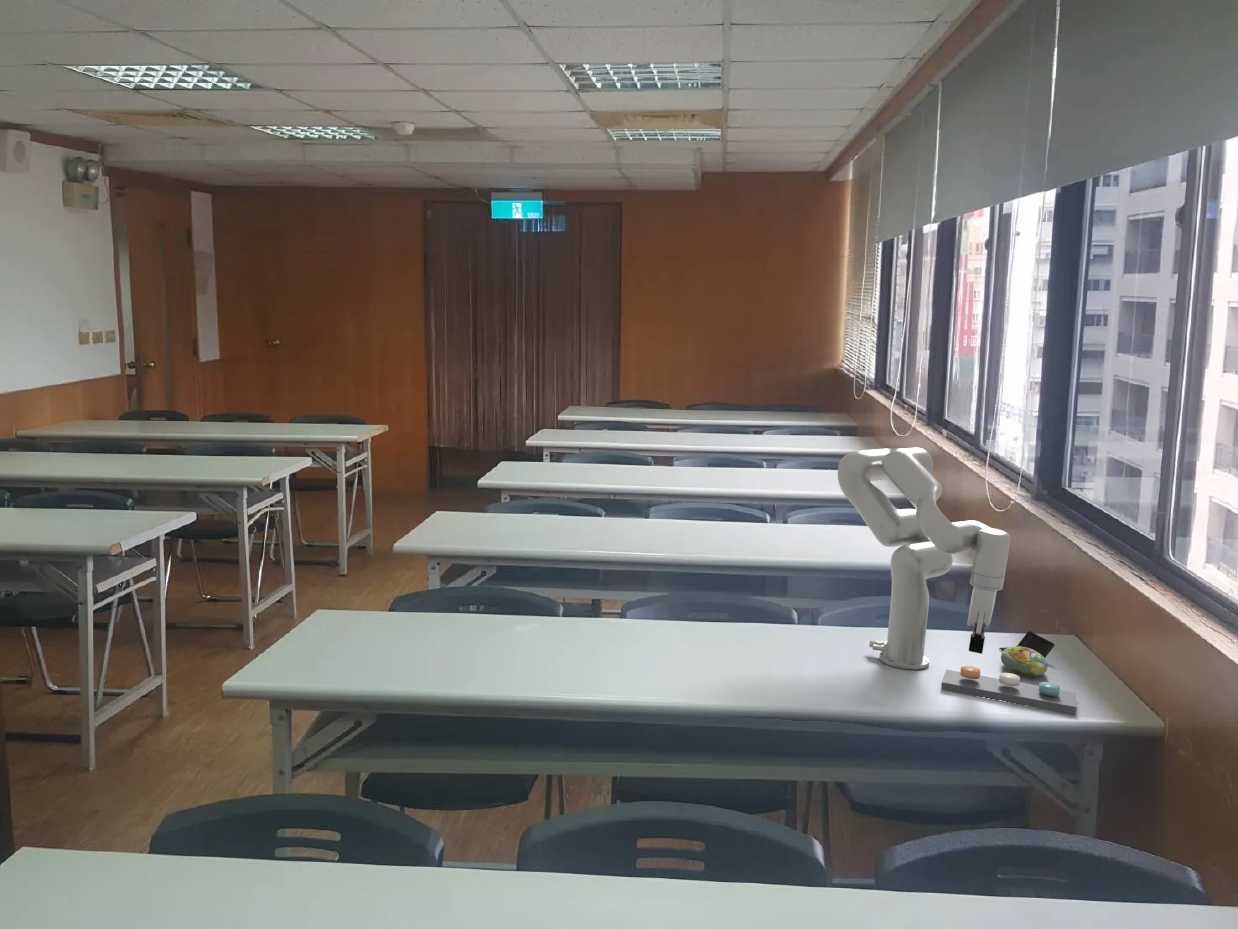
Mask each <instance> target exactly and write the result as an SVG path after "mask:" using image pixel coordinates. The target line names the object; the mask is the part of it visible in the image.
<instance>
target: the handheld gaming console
mask: <svg viewBox="0 0 1238 929" xmlns="http://www.w3.org/2000/svg"><path fill="white" fill-rule="evenodd" d="M1009 647H1010V646H1009ZM1009 647H1008V646H1007V647H999V649H1001V650H1002V651H1003V650H1005V649H1006V648H1009ZM1015 647H1026V648H1030V649H1032V650H1035V651H1036V652H1038V653H1040V654H1041V655H1042V656H1043V657H1044V658H1045V659H1046V658H1047V656H1048V654H1050V652H1051V651H1052V650H1053V648H1054V647H1055V643H1053V642H1052V641H1049V640H1048V639H1046V638H1044V637H1042V636H1040V635H1038V634H1036V633H1034V632H1032V631H1030V630H1029V631H1027V632H1026V634H1024V635H1023V637H1022V639H1021V640H1020V641H1019V643H1018V644H1017V645H1015ZM999 649H998V650H999ZM1002 651H1001V652H1002Z"/></svg>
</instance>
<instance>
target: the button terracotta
mask: <svg viewBox="0 0 1238 929" xmlns="http://www.w3.org/2000/svg"><path fill="white" fill-rule="evenodd" d="M959 672H960V675H961V676H962V677H965V678H968V679H979V678H980V676H981V669H980V668H978V667H975V666H970V665H963V666H961V667H960V671H959Z"/></svg>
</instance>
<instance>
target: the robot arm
mask: <svg viewBox="0 0 1238 929" xmlns="http://www.w3.org/2000/svg"><path fill="white" fill-rule="evenodd" d="M933 471H934V460H933V458H932V456H931V454H930V453H929V452H928V451H927V450H925V449H924V448H921V447H907V448H904V447H903V448H874V449H861V450H860V449H859V450H855V451H851V452H849V453H847V454H845V455H844V456H842V458H841V459H840V461H839V464H838V467H837V480H838V485H839V487H840V490H841V491H842V493H843V495H844V496H845V497H846V500H848V501H849V503H850V504H851V505H852V506H853V507H854V509H855V510H856V511H857V513H858V514H859V516H860V517H861V518H862V520H863V521H864V523H865V525H866V526H867V527H868V528H869V530H870V531H871V532H872V534H873V536H874V537H875V538H876V540H877V541H878V542H879V543H880V544H881V545H882V546H884V547H888V548H894V547H898V548H896V549H895V550H894V552H893V553H892V555H891V558H890V565H889V566H890V573H891V574H890V575H891V592H890V594H891V596H890V606H889V616H888V617H889V618H888V627H887V628H888V629H887V638H886V639H885V640H882V641H878V640H873V639H870V640H869V646H868V647H869V648H872V650H873V651H881V652H880V653H879V657H878V658H879V660H880V661H881V662H882V663H884V664H885V665H888V666H891V667H893V668H897V669H903V670H922V669H926V668H927V667H929V665H930V659H929V657H927V656H926V655H925V645H926V637H927V636H926V635H927V625H928V614H929V604H930V592H929V589H928V585H927V580H929V579H931V578H936V577H940V576H943V575H945V574H947V573H948V572H950V570H951V568H952V566H953V561H954V560H953V555H956V554H962V553H968V552H970V553H971V552H972V553H973V552H974V553H973V554H974V555H973V561H972V567H971V574H970V579H969V585H970V586H972V587H973V589H972V594H971V599H970V603H969V604H970V605H969V612H968V619H967V624H966V625H967V626H968V627H970V626H971V627H973V628H972V632H971V633H970V639H969V645H968V651H969V652H971V653H977V654H980V655H981V654H983V652H984V646H985V640H986V635H985V631H986V630H988V629H989V627H990V623H991V620H992V617H993V612H994V608H995V603H996V597H997V592H998V591H1002V590H1003V589H1004V588H1003V587H1004V582H1005V576H1006V570H1007V564H1008V558H1009V552H1010V546H1011V535H1010V534H1009V533H1008V532H1006V531H1005V530H1002V529H998V528H992V527H991V526H988V525H986V524H984V523H982V522H980V521H978V520H974V519H973V520H972V519H971V520H964V521H954V522H951V521H950V520H949V519H948V518H947V517H946V516H945V515H944V514H943V513H942V510H940V508H939V507H938V505H937V501H938V499H939V498H940V496H941V495H942V493H943V486H942V484H941V483H940V482H939V481H938V480H937V479H936V478H935V477H934V476H933V474H932V472H933ZM883 480H884V481H885V480H889V481H891V483H892V484H893V485H894V486H895V487H896V488H897V489H898V490H899V491H900V492H901V494H902V495H904V497H905V498H906V499H907V500H908V501H909V502H910V503H911V504H912V506H913V507H914V508H902V509H899V508H897V507H895V505H893V503H892V502H891V501H890V499H889V497H887V495H886V494H885V493H884V492H883V491H882V490H881V489H880V488H878V487H877V486H876V485H874V484H873V483H872V482H873V481H875V482H876V481H883Z"/></svg>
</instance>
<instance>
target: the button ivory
mask: <svg viewBox="0 0 1238 929" xmlns="http://www.w3.org/2000/svg"><path fill="white" fill-rule="evenodd" d="M998 679H999V682H1000V683H1001V684H1004V685H1007V686H1018V685H1019V682H1020V680H1021V678H1020V676H1019V675H1018V674H1014V673H1011V672H1010V673H1009V672H1002V673H999V677H998ZM1020 683H1021V682H1020Z"/></svg>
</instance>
